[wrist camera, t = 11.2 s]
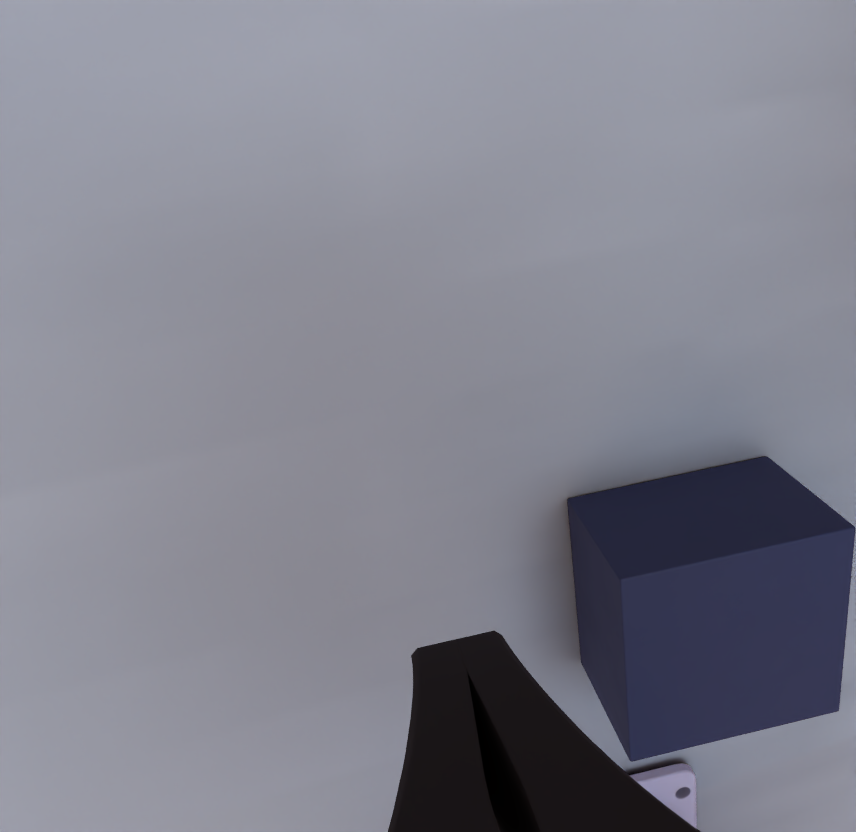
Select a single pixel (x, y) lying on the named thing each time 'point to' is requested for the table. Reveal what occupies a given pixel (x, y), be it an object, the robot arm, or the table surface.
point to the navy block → (710, 604)
